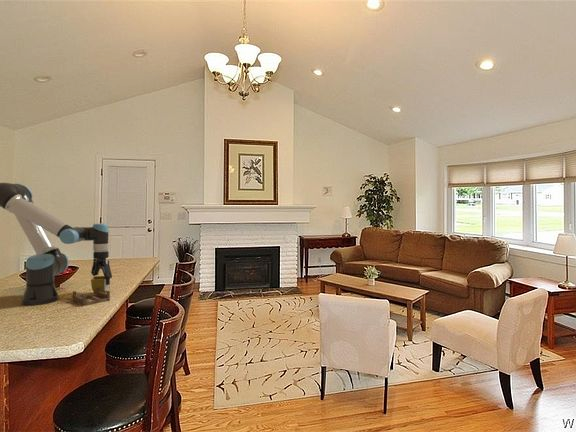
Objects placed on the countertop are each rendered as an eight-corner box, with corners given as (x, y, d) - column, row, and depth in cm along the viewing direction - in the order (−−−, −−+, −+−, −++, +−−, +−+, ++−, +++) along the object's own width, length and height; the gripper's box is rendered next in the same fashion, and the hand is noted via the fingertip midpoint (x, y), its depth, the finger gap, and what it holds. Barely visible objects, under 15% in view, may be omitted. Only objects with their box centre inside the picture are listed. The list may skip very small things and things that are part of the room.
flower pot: (108, 294, 192) (108, 278, 191) (90, 295, 188) (90, 279, 188) (110, 291, 200) (110, 275, 199) (93, 292, 196) (93, 276, 196)
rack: (83, 305, 170) (83, 295, 170) (72, 301, 178) (72, 291, 177) (109, 300, 180) (109, 291, 180) (98, 296, 188) (98, 287, 188)
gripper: (118, 252, 189) (118, 290, 189) (97, 248, 204) (98, 284, 205) (104, 253, 183) (104, 293, 183) (84, 249, 198) (84, 286, 199)
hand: (101, 288), depth 194 cm, fingers open, 13 cm apart
